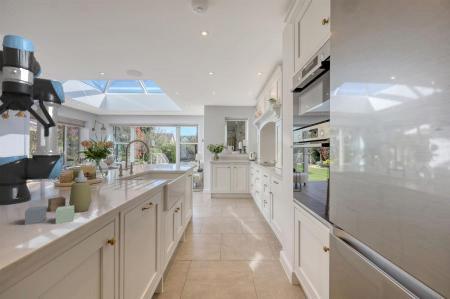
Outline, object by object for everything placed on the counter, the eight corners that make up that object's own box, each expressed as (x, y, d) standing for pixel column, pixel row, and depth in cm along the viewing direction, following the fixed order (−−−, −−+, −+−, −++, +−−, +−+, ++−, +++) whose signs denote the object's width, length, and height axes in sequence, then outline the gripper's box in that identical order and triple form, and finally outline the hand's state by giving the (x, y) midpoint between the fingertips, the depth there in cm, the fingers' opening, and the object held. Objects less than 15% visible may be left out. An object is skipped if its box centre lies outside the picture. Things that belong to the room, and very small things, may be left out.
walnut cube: (48, 210, 92) (48, 198, 92) (62, 207, 96) (62, 196, 96) (51, 212, 89) (51, 200, 89) (65, 209, 92) (65, 198, 93)
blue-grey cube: (28, 221, 77) (28, 207, 77) (46, 218, 80) (46, 205, 80) (24, 225, 73) (25, 211, 73) (43, 222, 76) (43, 209, 76)
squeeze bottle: (68, 214, 85) (69, 170, 85) (69, 209, 92) (69, 169, 92) (91, 211, 90) (92, 169, 90) (90, 207, 97) (91, 168, 97)
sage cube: (57, 220, 79) (58, 207, 79) (74, 218, 81) (74, 205, 81) (55, 224, 74) (55, 210, 74) (72, 221, 77) (73, 208, 77)
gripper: (-44, 72, 61) (-46, 144, 61) (62, 86, 74) (61, 146, 74) (-31, 79, 68) (-32, 144, 67) (65, 91, 81) (64, 146, 80)
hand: (16, 145), depth 71 cm, fingers open, 13 cm apart
